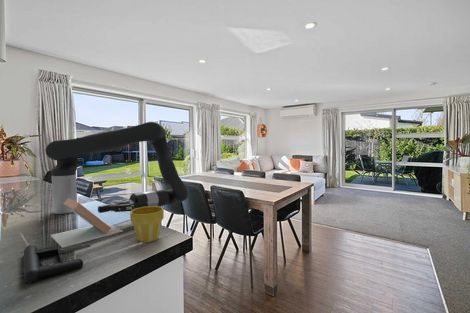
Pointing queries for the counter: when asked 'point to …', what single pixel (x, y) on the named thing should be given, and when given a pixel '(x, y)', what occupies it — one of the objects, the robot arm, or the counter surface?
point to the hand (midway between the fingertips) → (98, 209)
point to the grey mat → (82, 235)
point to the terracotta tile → (87, 215)
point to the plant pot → (147, 222)
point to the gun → (36, 272)
